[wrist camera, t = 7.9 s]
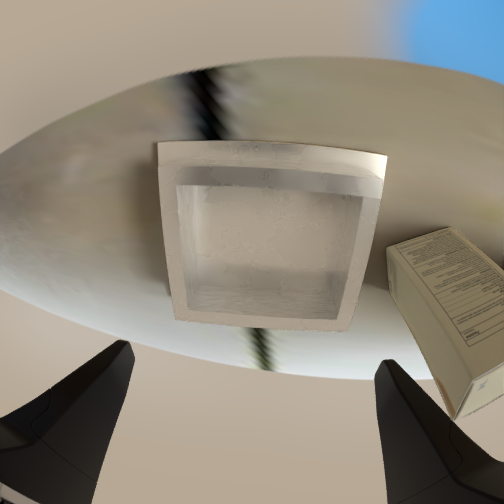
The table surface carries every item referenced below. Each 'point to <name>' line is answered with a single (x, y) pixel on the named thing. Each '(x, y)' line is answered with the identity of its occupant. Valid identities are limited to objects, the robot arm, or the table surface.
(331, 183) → the square open tray
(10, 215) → the table surface
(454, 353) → the skincare box
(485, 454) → the robot arm
